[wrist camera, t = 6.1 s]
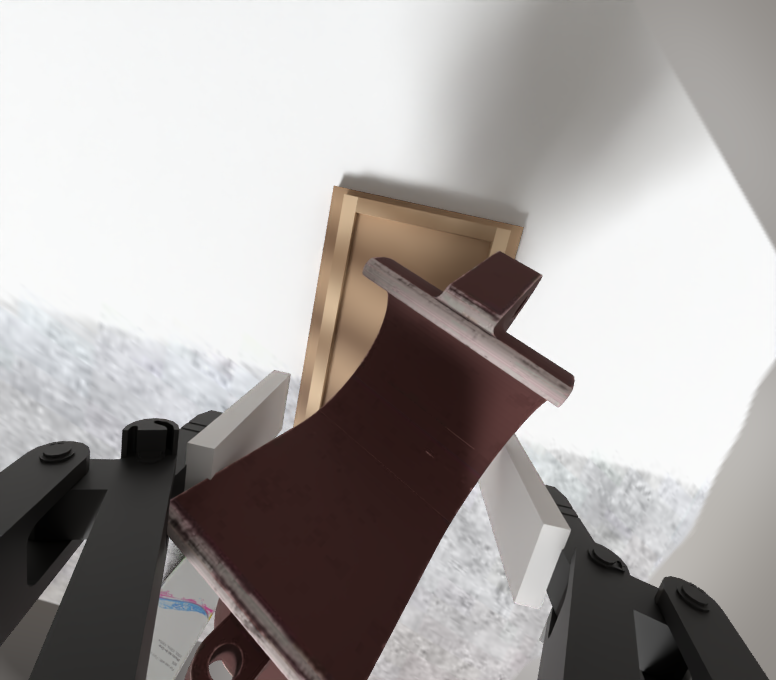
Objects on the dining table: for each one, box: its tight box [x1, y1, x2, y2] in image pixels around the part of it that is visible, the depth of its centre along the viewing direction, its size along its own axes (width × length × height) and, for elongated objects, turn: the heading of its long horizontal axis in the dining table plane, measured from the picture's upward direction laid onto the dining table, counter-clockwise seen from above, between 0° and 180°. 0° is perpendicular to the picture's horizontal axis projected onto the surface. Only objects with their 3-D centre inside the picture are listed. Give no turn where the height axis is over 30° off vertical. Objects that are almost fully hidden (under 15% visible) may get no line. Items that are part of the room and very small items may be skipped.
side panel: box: [293, 186, 524, 427], centre depth 29 cm, size 22×14×2 cm, turn 168°
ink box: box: [146, 557, 219, 680], centre depth 31 cm, size 9×5×12 cm, turn 140°
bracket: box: [167, 251, 574, 680], centre depth 13 cm, size 6×17×10 cm, turn 154°
